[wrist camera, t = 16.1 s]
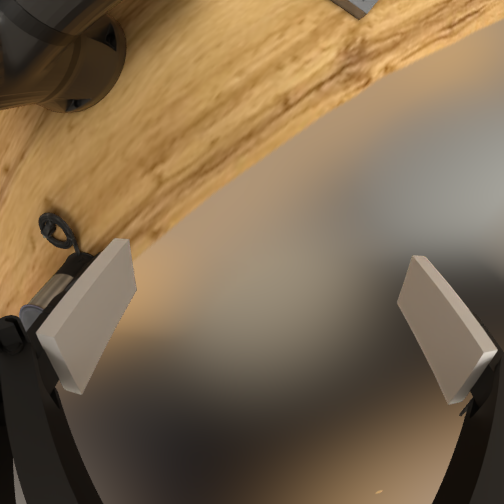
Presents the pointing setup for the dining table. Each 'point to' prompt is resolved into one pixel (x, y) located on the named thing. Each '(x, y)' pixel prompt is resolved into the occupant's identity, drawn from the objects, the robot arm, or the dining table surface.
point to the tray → (356, 6)
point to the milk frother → (64, 275)
